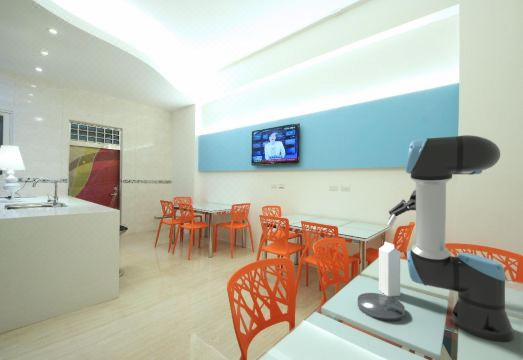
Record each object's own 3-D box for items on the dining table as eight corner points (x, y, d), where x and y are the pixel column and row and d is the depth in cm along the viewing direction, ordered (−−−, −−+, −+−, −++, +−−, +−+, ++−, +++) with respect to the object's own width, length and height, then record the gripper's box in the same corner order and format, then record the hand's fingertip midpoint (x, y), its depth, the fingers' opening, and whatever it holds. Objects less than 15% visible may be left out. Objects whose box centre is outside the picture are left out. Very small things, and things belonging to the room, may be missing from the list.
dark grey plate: (414, 315, 86) (414, 308, 86) (383, 325, 80) (383, 318, 80) (377, 296, 101) (377, 290, 101) (348, 303, 94) (348, 297, 94)
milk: (388, 297, 100) (388, 245, 100) (378, 290, 106) (378, 241, 106) (400, 295, 101) (400, 244, 101) (390, 289, 107) (390, 240, 107)
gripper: (454, 202, 105) (436, 239, 98) (399, 198, 127) (381, 228, 120) (448, 190, 103) (429, 228, 96) (393, 188, 125) (374, 219, 118)
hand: (403, 228), depth 108 cm, fingers open, 13 cm apart
